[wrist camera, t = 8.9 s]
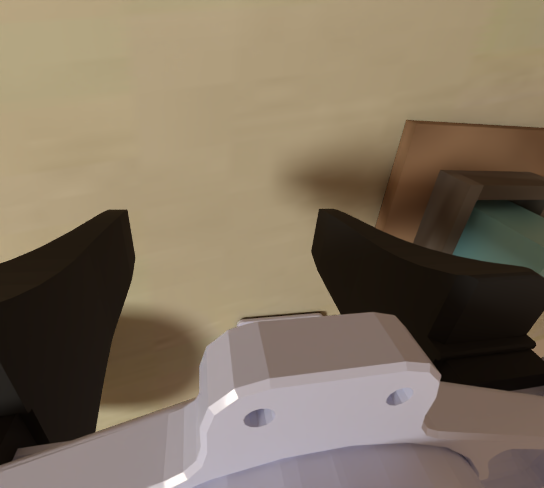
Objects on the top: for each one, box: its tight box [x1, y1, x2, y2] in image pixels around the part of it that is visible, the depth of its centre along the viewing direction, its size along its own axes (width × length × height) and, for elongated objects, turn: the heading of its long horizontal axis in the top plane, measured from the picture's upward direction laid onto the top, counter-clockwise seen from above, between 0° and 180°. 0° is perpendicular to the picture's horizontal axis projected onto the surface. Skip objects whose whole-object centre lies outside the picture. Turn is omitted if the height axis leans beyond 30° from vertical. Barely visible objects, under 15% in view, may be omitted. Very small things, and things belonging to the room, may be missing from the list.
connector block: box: [452, 200, 544, 277], centre depth 22 cm, size 4×4×8 cm
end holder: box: [375, 120, 544, 255], centre depth 24 cm, size 14×14×4 cm
